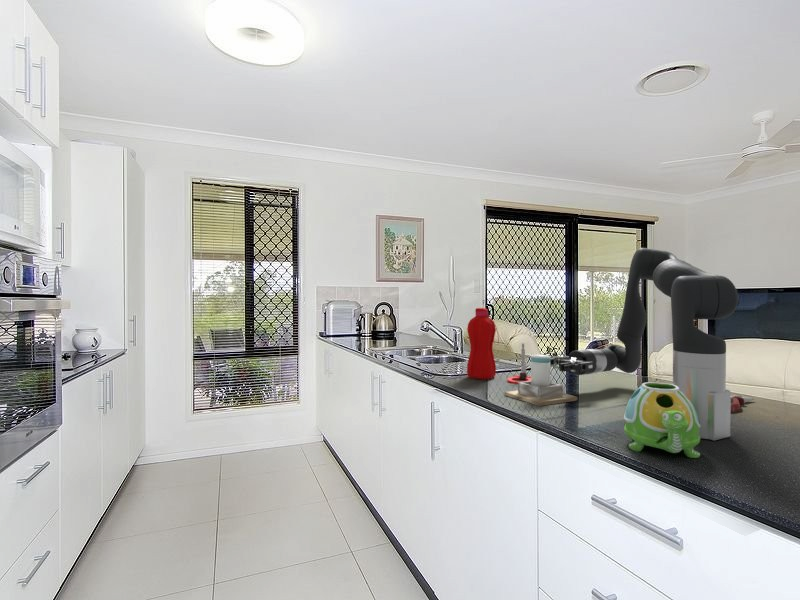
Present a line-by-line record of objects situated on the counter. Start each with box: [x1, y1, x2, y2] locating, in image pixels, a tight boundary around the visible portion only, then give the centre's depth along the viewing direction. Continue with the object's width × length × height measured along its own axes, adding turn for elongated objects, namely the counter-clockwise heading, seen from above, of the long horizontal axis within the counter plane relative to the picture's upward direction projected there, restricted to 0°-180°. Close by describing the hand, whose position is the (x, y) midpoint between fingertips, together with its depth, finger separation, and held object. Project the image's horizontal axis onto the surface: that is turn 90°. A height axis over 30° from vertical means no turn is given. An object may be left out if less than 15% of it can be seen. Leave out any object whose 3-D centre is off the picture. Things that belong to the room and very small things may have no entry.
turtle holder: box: [623, 381, 701, 459], centre depth 80 cm, size 12×18×12 cm
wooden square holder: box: [503, 380, 578, 407], centre depth 123 cm, size 14×14×4 cm
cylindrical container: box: [530, 354, 551, 387], centre depth 123 cm, size 5×5×11 cm
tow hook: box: [506, 342, 531, 385], centre depth 147 cm, size 8×13×9 cm
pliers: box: [731, 395, 755, 413], centre depth 116 cm, size 12×20×3 cm, turn 115°
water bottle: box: [466, 307, 500, 381], centre depth 154 cm, size 9×11×25 cm
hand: (548, 365), depth 124 cm, fingers open, 8 cm apart
